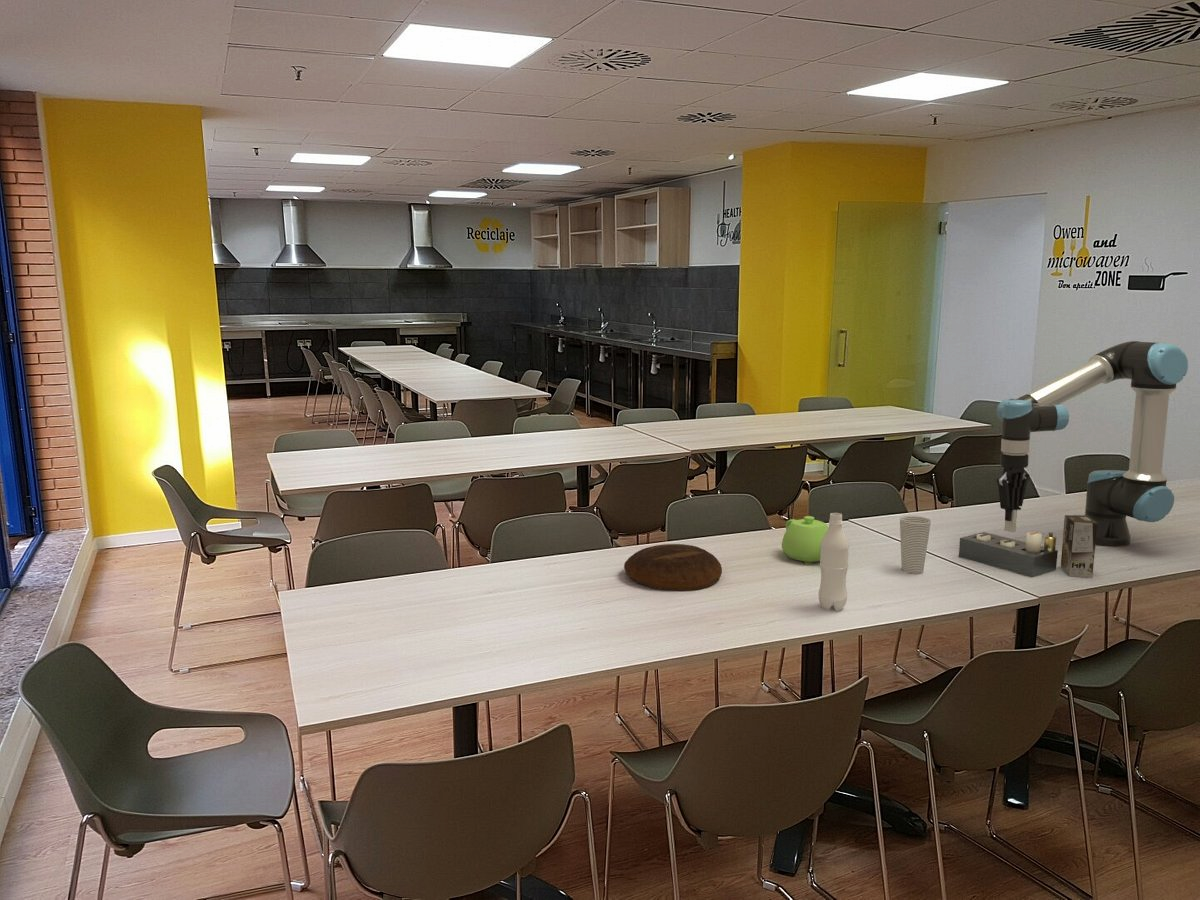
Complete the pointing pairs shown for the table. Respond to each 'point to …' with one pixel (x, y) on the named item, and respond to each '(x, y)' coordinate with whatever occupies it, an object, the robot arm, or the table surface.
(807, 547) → the teapot
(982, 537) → the knob
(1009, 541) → the knob
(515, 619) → the table surface
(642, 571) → the bread
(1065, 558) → the coffee box
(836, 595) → the water bottle
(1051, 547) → the pepper mill
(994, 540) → the mount
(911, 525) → the cup
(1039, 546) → the knob
